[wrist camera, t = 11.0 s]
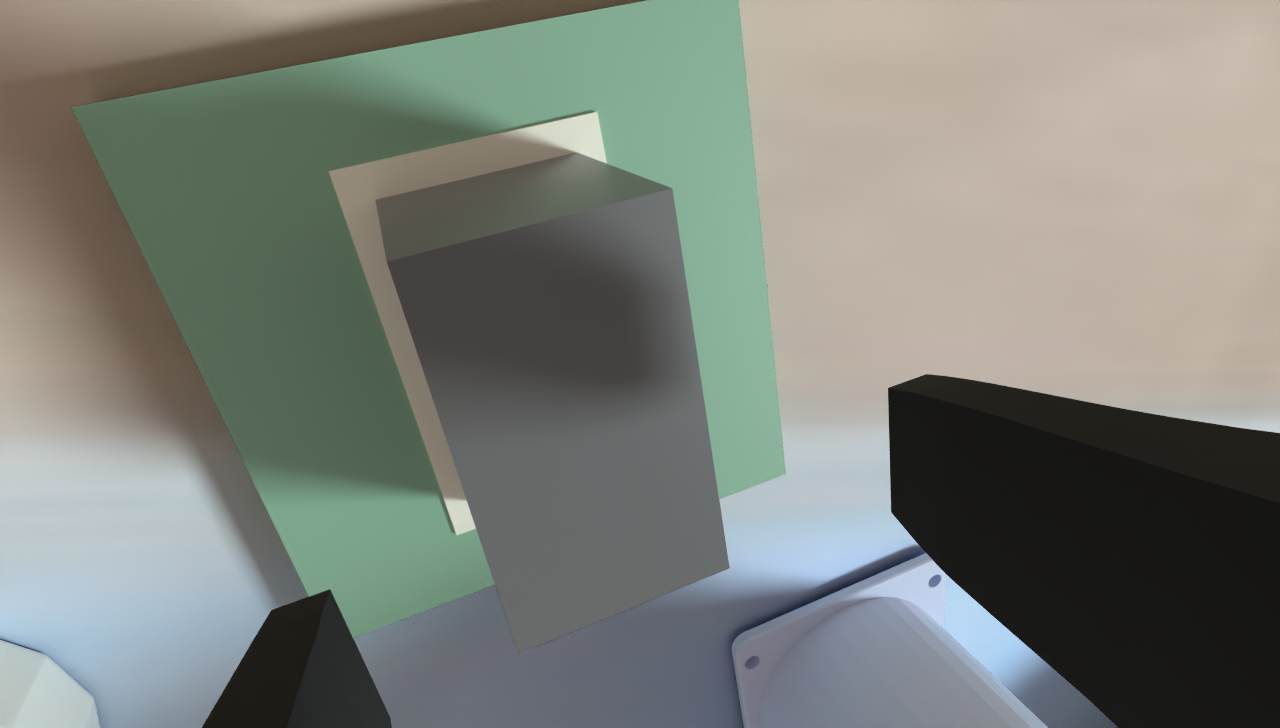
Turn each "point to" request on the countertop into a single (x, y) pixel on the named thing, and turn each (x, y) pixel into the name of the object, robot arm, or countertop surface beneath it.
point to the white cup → (41, 693)
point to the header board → (361, 280)
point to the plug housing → (563, 383)
